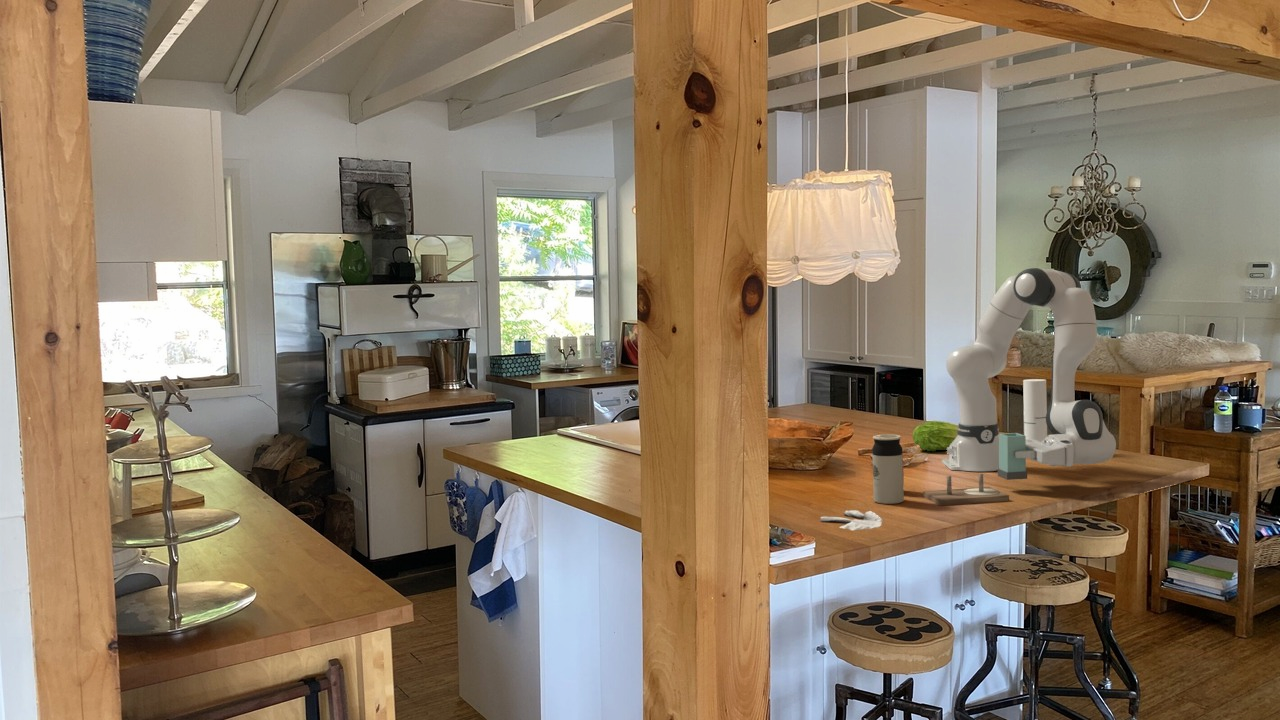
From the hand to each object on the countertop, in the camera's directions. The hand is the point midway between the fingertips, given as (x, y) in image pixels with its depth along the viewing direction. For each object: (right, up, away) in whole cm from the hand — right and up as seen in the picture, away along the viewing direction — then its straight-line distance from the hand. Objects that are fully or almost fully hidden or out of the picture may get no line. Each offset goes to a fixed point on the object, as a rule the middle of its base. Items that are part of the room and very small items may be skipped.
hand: (1009, 452), depth 275 cm
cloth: (-49, -16, -23) cm, 57 cm away
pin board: (-14, -12, -6) cm, 20 cm away
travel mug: (-35, -13, -5) cm, 38 cm away
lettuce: (+6, -6, +74) cm, 74 cm away
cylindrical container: (+30, -6, +57) cm, 65 cm away
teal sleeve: (+1, -7, +1) cm, 7 cm away
